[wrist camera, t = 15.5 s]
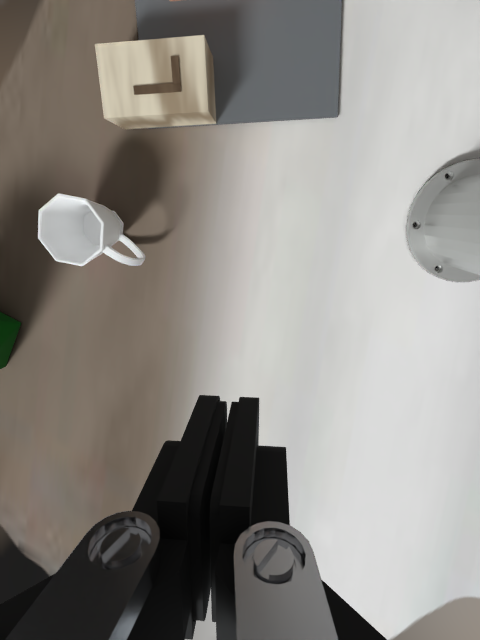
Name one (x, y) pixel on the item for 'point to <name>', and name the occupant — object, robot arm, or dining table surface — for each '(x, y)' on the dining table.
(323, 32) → the rubber mat
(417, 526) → the dining table surface
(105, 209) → the cup
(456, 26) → the dining table surface
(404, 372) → the dining table surface
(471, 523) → the dining table surface
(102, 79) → the beech block
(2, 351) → the milk carton
